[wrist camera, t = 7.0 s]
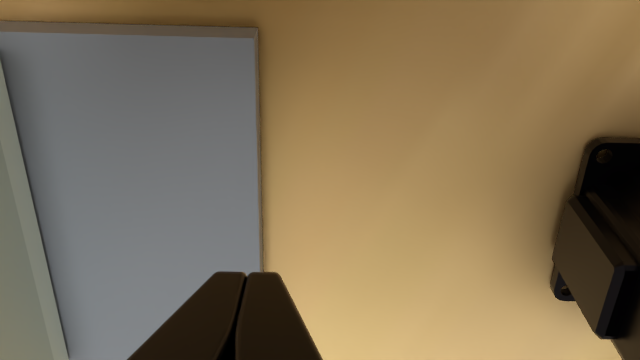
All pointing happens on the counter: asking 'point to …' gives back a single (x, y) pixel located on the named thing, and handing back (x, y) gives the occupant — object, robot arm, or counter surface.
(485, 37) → the counter surface
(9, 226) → the panel
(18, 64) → the board
